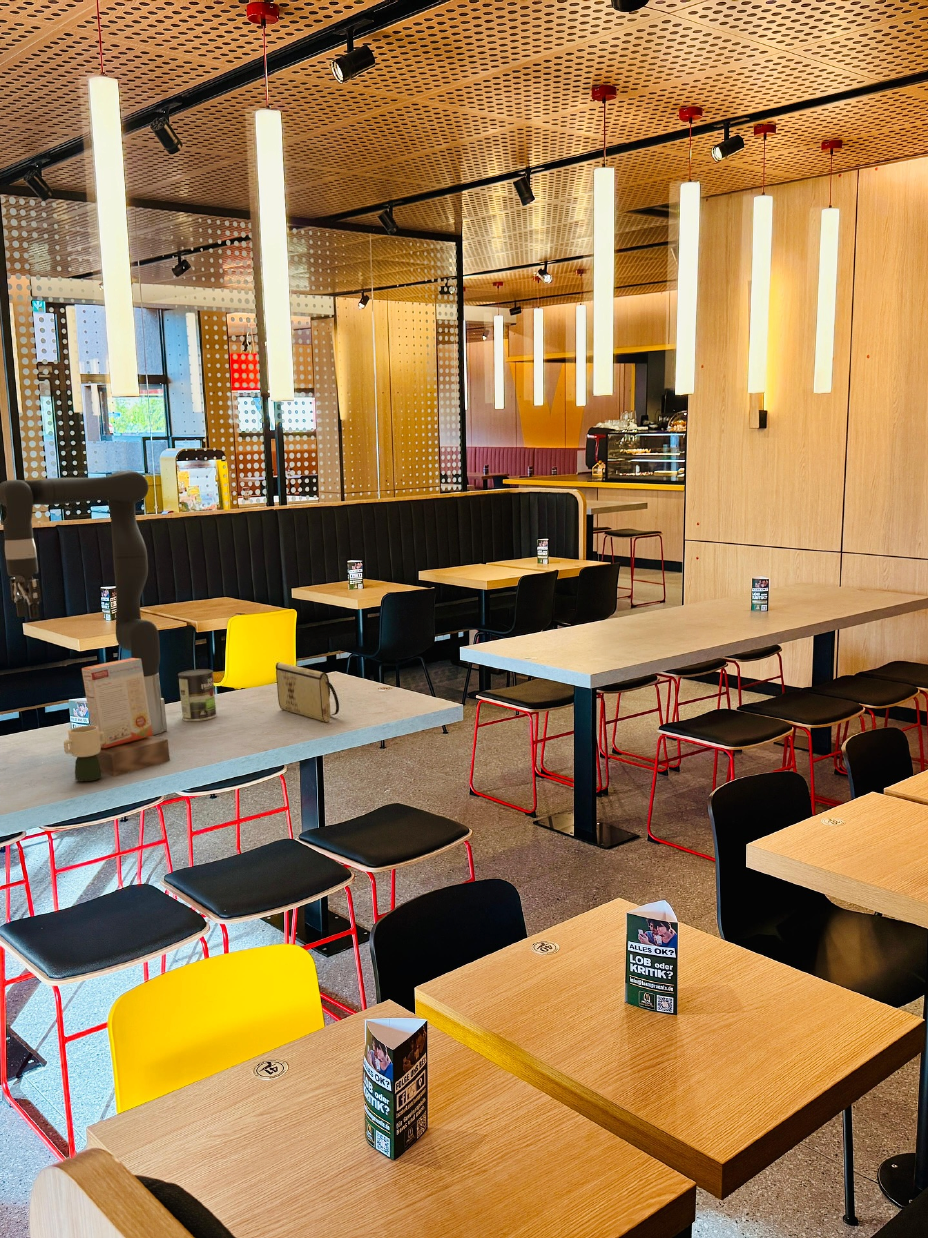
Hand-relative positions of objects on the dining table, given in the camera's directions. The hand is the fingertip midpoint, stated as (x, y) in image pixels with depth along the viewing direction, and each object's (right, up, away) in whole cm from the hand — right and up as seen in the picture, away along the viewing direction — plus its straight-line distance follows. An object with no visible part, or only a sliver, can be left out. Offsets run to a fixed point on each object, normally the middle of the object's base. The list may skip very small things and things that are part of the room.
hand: (28, 617), depth 274 cm
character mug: (+23, -40, -19) cm, 50 cm away
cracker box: (+27, -32, -6) cm, 43 cm away
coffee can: (+35, -31, +42) cm, 62 cm away
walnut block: (+27, -38, -5) cm, 47 cm away
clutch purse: (+69, -29, +38) cm, 84 cm away
